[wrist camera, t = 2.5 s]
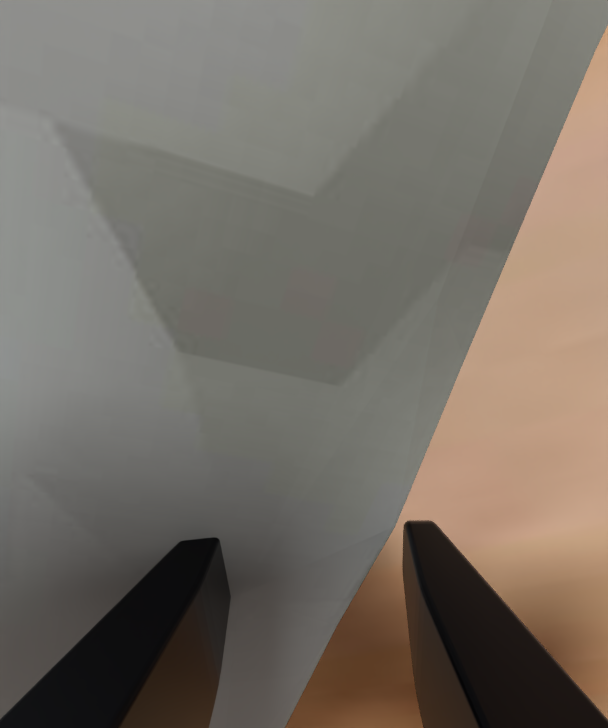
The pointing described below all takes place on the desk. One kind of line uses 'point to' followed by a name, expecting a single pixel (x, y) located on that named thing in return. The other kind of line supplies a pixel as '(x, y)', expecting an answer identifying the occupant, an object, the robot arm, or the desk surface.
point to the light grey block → (247, 293)
